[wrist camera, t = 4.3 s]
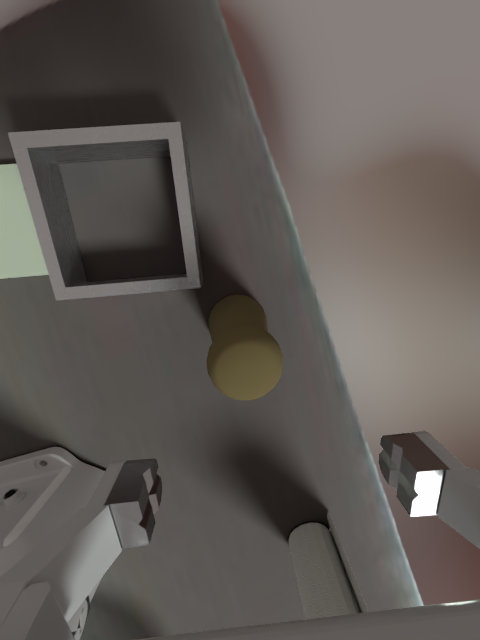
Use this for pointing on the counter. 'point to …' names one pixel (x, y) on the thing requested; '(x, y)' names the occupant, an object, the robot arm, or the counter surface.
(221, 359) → the olive green rounded piece
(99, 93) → the counter surface
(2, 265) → the green pad
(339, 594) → the paper towel roll
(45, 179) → the frame
